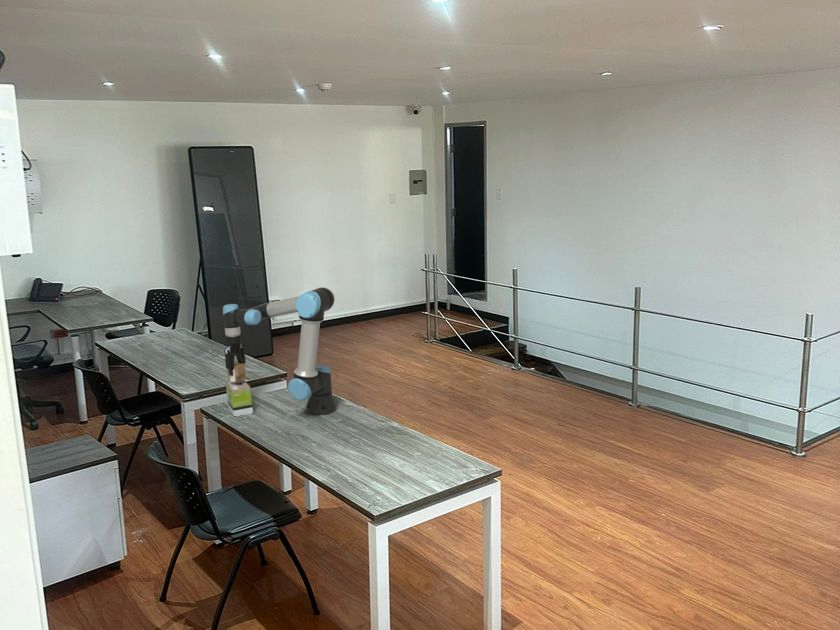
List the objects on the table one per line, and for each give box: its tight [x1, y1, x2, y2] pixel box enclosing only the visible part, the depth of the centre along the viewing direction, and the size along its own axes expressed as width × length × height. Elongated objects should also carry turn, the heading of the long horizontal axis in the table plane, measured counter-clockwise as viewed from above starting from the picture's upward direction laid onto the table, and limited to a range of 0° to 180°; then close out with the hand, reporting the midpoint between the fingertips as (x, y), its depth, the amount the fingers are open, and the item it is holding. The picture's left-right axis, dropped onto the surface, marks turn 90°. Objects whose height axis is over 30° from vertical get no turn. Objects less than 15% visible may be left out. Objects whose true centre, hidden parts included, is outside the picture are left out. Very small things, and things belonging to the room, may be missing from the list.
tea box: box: [225, 379, 254, 417], centre depth 385 cm, size 15×10×15 cm
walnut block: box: [227, 362, 246, 382], centre depth 383 cm, size 6×6×8 cm
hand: (237, 379), depth 383 cm, fingers closed on walnut block, 6 cm apart
